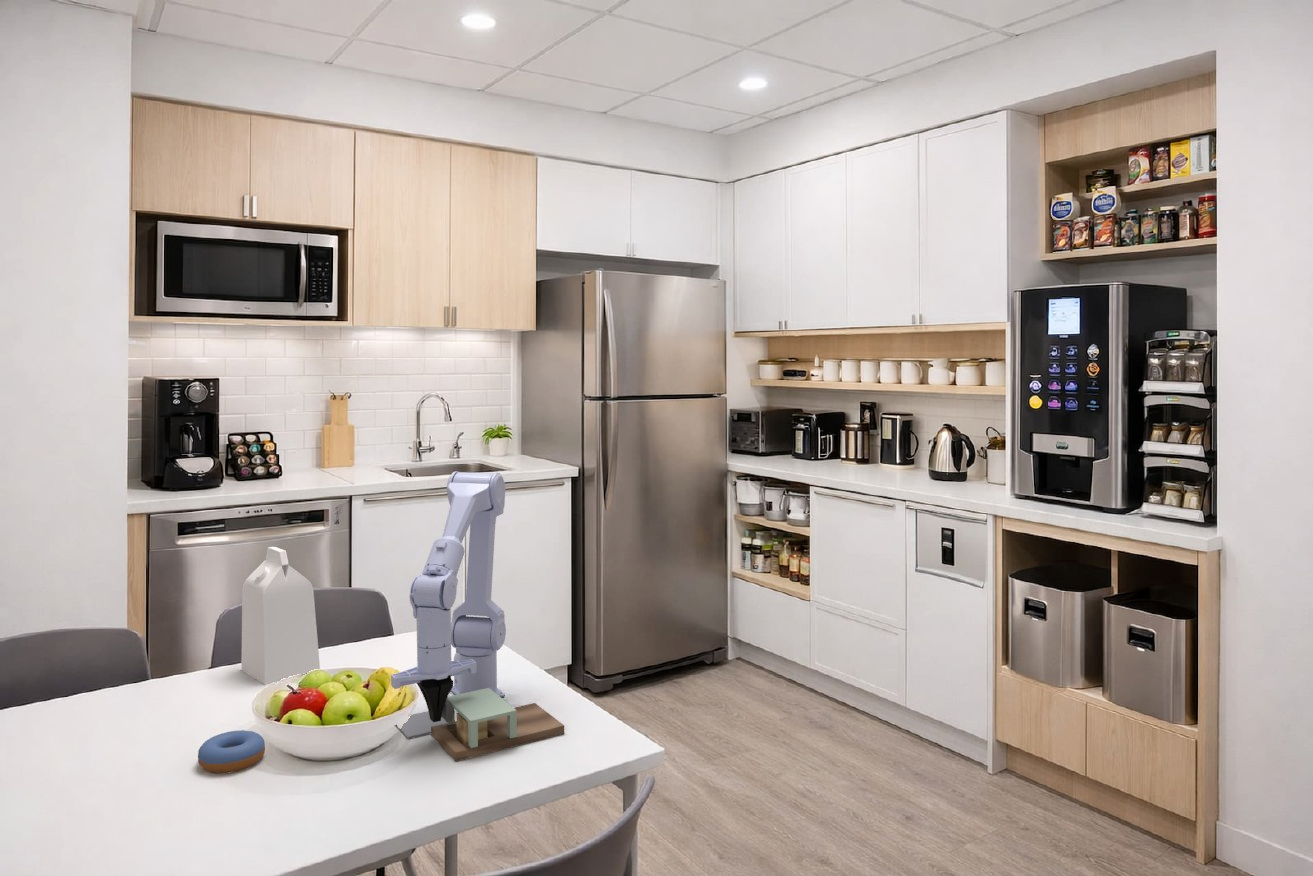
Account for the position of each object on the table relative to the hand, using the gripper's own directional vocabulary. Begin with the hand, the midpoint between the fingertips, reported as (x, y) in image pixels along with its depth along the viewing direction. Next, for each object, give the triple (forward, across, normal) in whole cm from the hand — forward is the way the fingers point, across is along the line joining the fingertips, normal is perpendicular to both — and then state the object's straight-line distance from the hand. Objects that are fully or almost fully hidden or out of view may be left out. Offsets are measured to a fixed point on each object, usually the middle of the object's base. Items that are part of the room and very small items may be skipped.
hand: (435, 719), depth 152 cm
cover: (+2, +6, -4) cm, 8 cm away
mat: (+3, 0, +7) cm, 8 cm away
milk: (+4, -16, +50) cm, 52 cm away
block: (+3, +5, -5) cm, 8 cm away
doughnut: (+4, -31, +9) cm, 32 cm away
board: (+3, +10, -4) cm, 11 cm away
